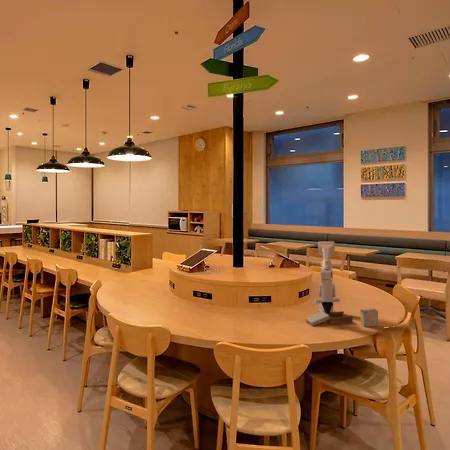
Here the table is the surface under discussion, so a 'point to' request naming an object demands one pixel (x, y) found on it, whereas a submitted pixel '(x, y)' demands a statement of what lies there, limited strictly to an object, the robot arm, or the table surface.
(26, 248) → the table surface
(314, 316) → the cover plate
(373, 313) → the medicine box
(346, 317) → the walnut box
